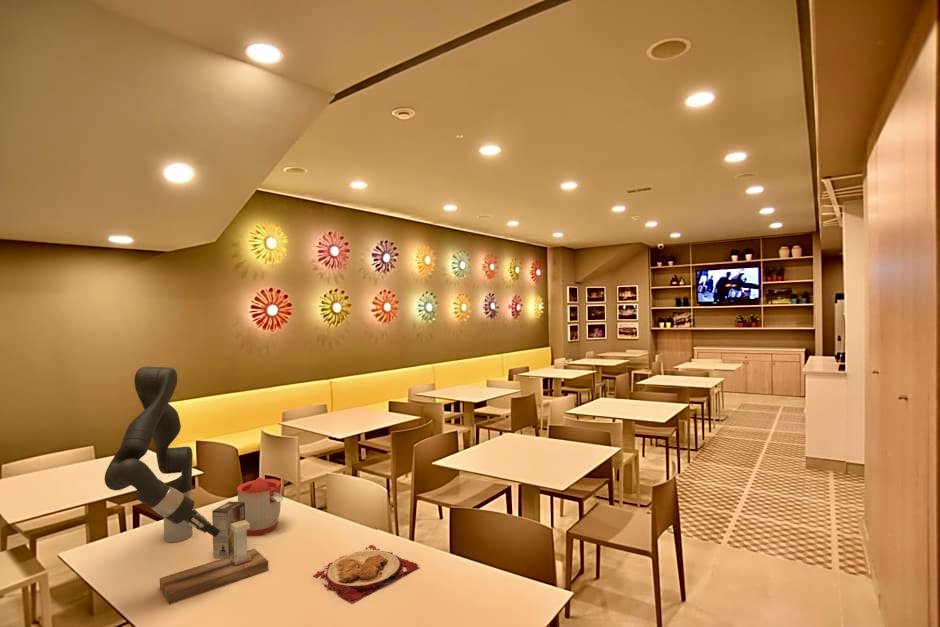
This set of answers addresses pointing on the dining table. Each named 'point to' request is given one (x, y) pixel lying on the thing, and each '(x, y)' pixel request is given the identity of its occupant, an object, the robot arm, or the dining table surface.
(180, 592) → the brown wooden slider base
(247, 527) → the slider tab
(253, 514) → the citrus juicer
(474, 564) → the dining table surface
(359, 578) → the plate with food
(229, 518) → the coffee box
